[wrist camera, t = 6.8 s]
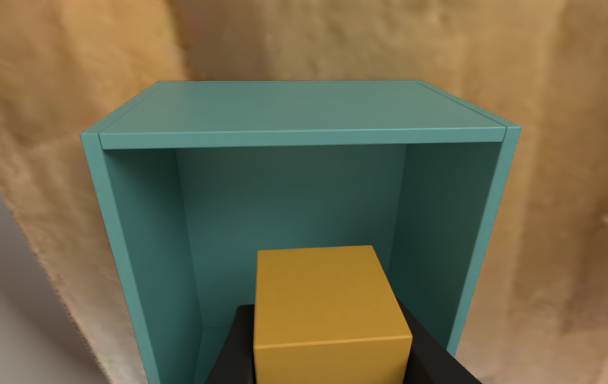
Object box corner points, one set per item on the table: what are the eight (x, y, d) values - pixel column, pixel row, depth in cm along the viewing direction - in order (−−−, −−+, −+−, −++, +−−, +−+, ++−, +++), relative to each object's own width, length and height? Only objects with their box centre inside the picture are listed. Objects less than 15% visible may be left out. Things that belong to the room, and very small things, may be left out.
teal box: (385, 316, 20) (432, 436, 15) (197, 327, 19) (169, 460, 14) (422, 80, 15) (522, 126, 9) (156, 81, 14) (78, 133, 8)
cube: (362, 326, 14) (394, 431, 11) (261, 334, 14) (260, 444, 11) (372, 244, 13) (413, 336, 9) (256, 249, 12) (253, 347, 9)
